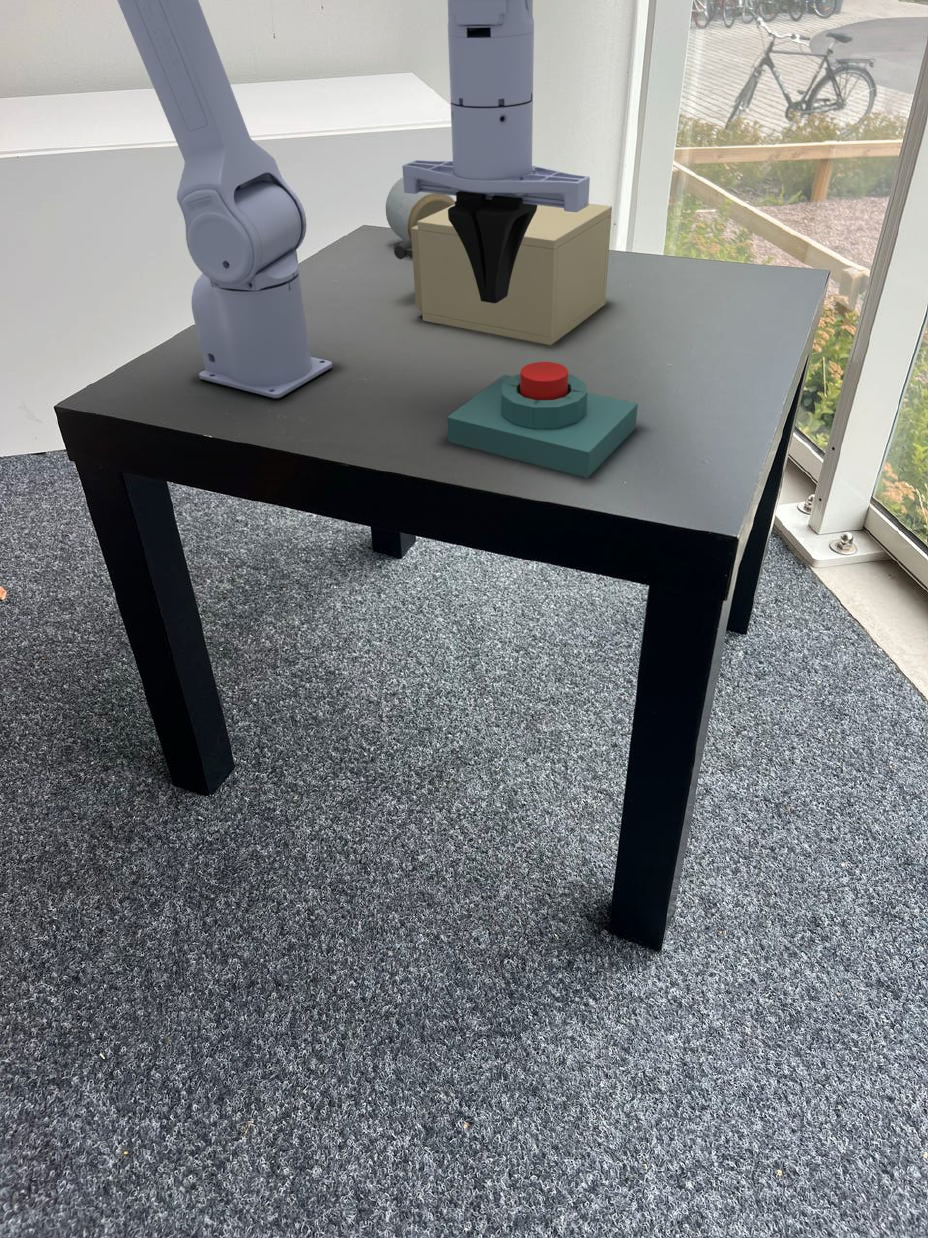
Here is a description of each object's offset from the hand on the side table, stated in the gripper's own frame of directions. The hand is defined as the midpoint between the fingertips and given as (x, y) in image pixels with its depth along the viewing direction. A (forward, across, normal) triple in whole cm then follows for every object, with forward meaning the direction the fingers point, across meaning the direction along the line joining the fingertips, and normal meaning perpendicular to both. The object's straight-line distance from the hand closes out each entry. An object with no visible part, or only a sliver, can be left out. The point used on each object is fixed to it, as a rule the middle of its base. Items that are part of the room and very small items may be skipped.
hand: (494, 298), depth 70 cm
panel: (+9, -6, +4) cm, 11 cm away
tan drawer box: (+9, +8, -19) cm, 23 cm away
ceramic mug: (+9, +28, -35) cm, 46 cm away
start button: (+5, -6, +4) cm, 9 cm away
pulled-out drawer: (+8, +12, -19) cm, 24 cm away
